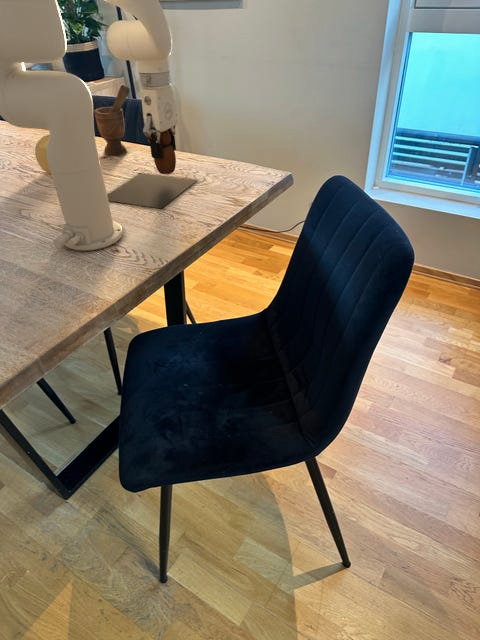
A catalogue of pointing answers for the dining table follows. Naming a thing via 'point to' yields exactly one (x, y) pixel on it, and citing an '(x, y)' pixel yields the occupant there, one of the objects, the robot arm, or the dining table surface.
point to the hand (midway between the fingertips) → (164, 153)
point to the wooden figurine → (166, 155)
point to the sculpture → (42, 153)
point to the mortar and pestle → (113, 124)
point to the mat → (150, 191)
